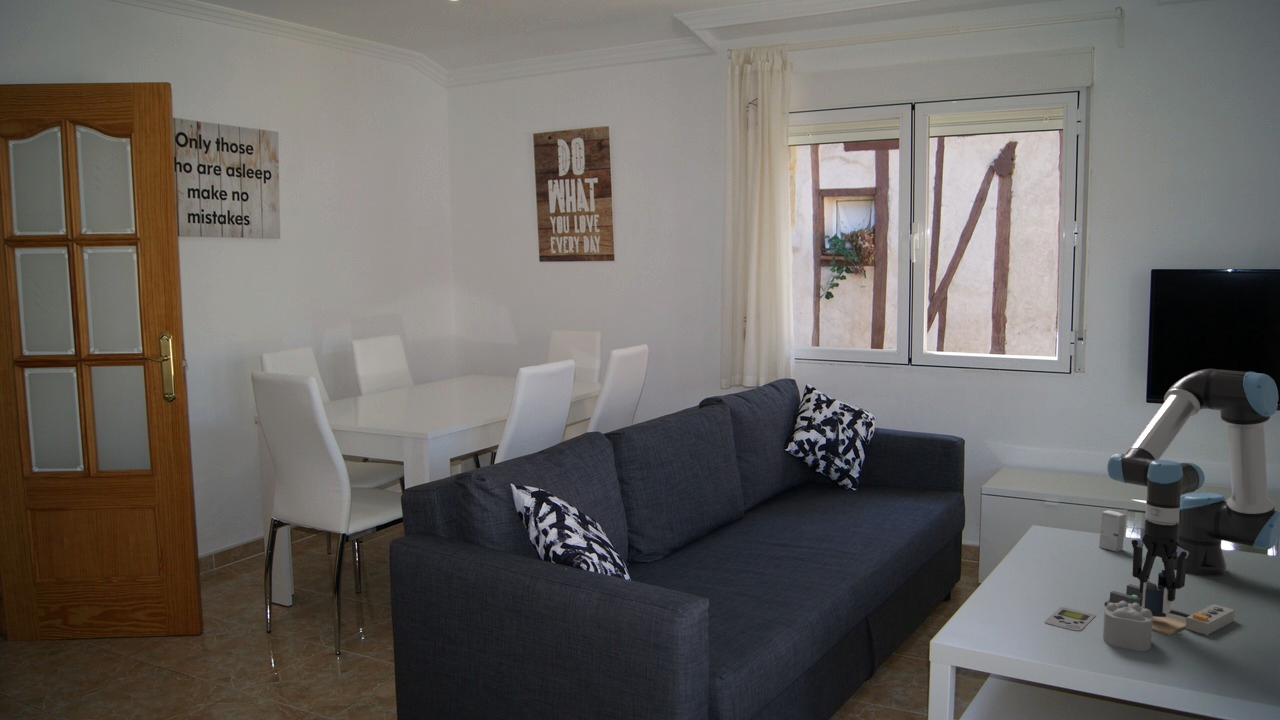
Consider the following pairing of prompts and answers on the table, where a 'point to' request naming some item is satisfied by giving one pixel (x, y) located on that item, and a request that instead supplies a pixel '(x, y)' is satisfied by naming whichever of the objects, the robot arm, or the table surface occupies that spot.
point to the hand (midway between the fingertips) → (1156, 608)
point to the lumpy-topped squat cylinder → (1128, 626)
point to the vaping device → (1156, 596)
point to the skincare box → (1112, 530)
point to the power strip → (1210, 619)
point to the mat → (1167, 625)
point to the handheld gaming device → (1070, 619)
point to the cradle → (1132, 597)
